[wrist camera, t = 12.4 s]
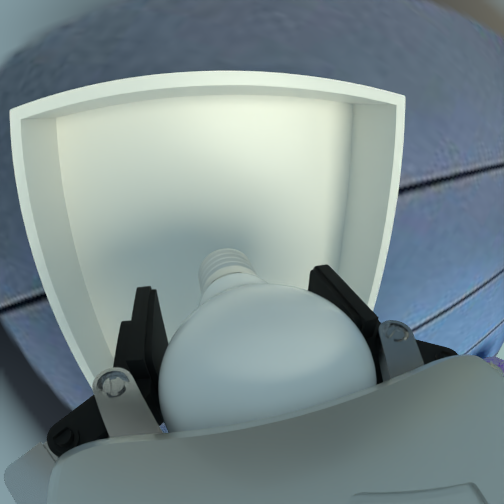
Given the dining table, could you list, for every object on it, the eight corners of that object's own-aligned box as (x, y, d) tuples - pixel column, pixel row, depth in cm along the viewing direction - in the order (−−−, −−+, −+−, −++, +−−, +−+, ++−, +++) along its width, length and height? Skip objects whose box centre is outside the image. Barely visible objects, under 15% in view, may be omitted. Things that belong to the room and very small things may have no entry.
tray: (327, 326, 23) (355, 366, 19) (110, 356, 19) (103, 407, 15) (352, 96, 15) (405, 95, 11) (53, 110, 11) (9, 109, 7)
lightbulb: (302, 232, 15) (456, 390, 5) (251, 326, 17) (324, 498, 7) (187, 187, 12) (236, 407, 3) (146, 299, 14) (146, 514, 5)
